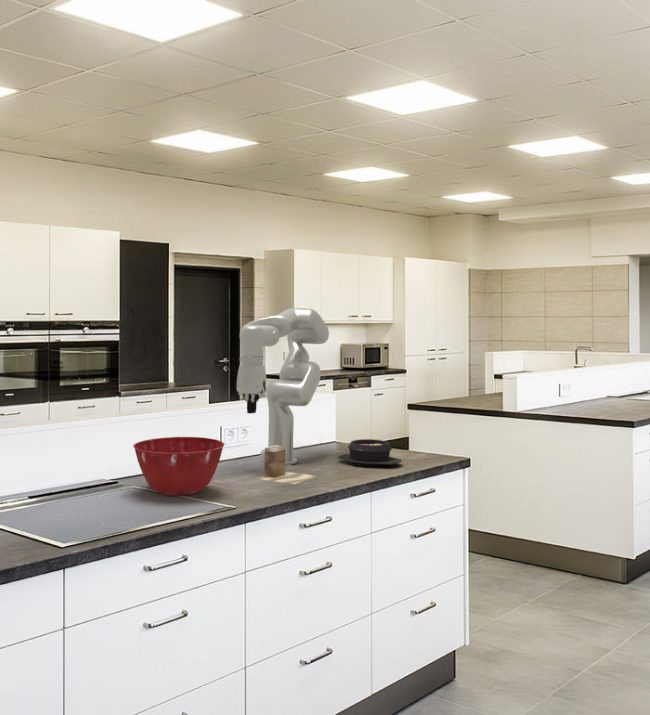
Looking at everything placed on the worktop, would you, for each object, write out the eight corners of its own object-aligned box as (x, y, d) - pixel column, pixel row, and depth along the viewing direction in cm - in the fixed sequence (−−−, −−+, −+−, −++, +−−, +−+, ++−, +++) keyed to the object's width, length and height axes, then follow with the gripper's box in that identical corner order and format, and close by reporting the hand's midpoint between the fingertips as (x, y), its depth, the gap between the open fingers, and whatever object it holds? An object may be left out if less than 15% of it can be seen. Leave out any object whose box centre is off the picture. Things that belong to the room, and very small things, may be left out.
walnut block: (264, 476, 285) (264, 447, 284) (275, 473, 291) (275, 445, 290) (274, 477, 283) (274, 449, 282) (284, 474, 289) (285, 446, 288)
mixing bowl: (181, 506, 243) (181, 454, 242) (113, 493, 258) (113, 444, 257) (241, 489, 266) (242, 442, 265) (176, 478, 282) (176, 433, 281)
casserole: (329, 464, 314) (329, 442, 313) (351, 456, 330) (352, 436, 329) (388, 471, 301) (389, 448, 301) (409, 463, 318) (409, 442, 317)
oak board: (254, 480, 282) (254, 478, 282) (279, 472, 295) (279, 470, 295) (294, 485, 274) (294, 484, 274) (318, 477, 288) (318, 476, 288)
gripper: (228, 360, 290) (228, 412, 291) (264, 362, 283) (263, 415, 283) (241, 359, 296) (240, 410, 297) (276, 361, 289) (275, 413, 290)
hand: (251, 412), depth 290 cm, fingers closed
